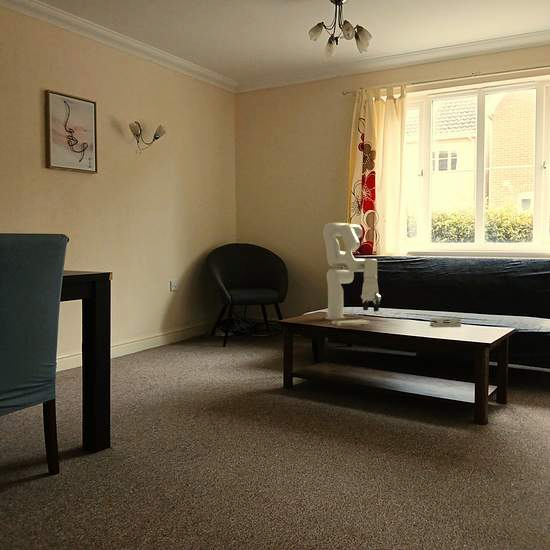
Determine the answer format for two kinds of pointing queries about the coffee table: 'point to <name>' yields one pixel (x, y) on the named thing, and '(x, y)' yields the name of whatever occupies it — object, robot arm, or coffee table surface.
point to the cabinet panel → (349, 321)
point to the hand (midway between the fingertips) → (370, 310)
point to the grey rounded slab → (440, 322)
